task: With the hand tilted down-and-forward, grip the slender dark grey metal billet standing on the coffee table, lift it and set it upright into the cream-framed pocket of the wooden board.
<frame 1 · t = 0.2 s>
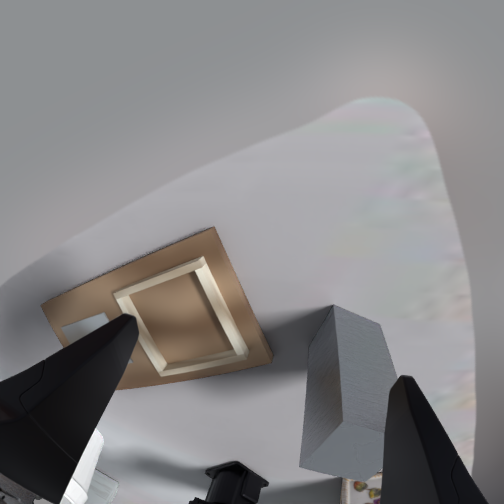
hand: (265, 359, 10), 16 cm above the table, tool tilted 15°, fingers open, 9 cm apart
supplement box: (103, 478, 45), on the table
billet: (344, 336, 26), on the table
cup: (86, 429, 39), on the table
wooden board: (138, 328, 30), on the table
decorative jar: (380, 488, 32), on the table
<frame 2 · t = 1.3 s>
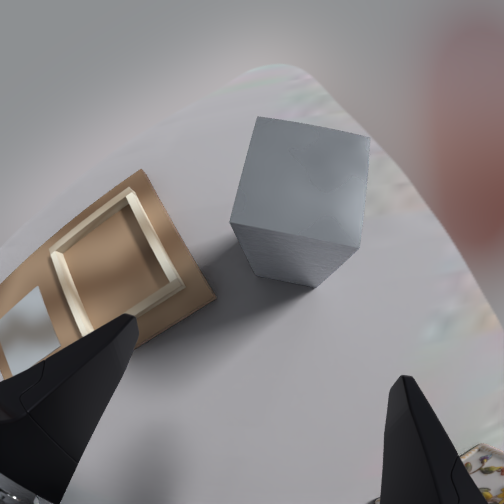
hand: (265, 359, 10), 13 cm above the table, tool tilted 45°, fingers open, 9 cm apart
billet: (291, 251, 24), on the table
wooden board: (70, 305, 24), on the table
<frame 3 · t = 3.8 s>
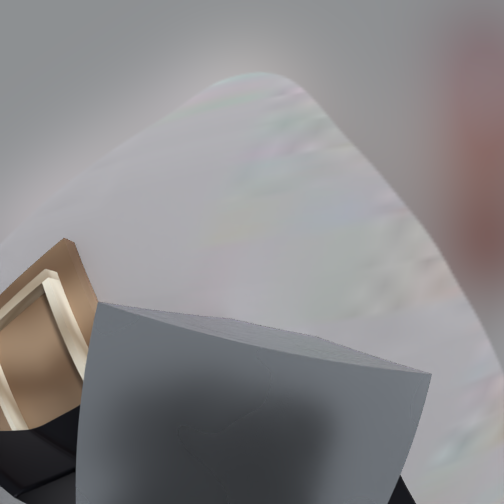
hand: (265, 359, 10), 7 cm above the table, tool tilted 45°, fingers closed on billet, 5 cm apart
billet: (264, 369, 16), on the table, touching gripper
wooden board: (8, 396, 16), on the table
when the fingers open (9 cm above the table, at t = 7.8 s): billet drops 1 cm, resting on wooden board.
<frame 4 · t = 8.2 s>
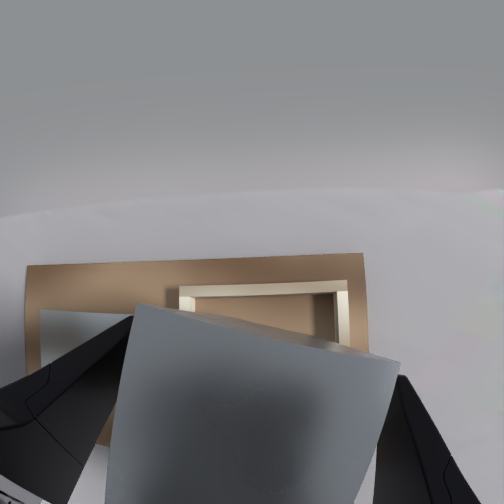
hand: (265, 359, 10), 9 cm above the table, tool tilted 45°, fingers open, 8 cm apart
billet: (265, 365, 17), point 1 cm above the table, touching wooden board
wooden board: (170, 362, 19), on the table
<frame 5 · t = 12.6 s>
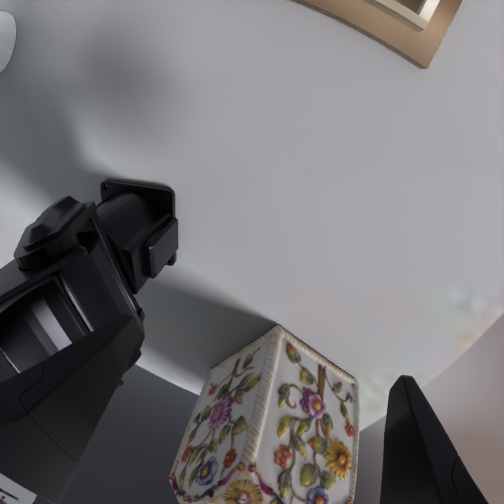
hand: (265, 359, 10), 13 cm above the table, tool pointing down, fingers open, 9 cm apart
decorative jar: (283, 375, 31), on the table
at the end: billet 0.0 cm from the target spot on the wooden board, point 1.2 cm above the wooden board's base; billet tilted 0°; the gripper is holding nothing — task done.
